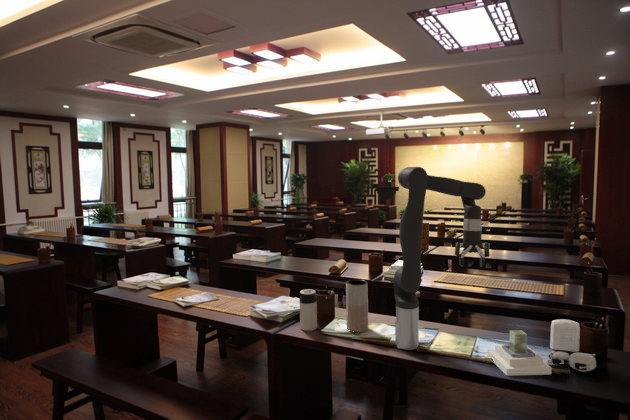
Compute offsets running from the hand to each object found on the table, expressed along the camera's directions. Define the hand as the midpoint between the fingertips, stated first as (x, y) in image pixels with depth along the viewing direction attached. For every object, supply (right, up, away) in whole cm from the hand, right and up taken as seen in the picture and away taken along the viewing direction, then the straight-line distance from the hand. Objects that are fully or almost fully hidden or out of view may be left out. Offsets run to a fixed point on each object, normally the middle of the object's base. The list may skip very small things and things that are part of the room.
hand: (471, 266), depth 181 cm
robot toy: (+27, -34, -27) cm, 51 cm away
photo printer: (+33, -32, -13) cm, 48 cm away
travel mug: (-72, -32, +17) cm, 80 cm away
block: (+8, -29, -26) cm, 39 cm away
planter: (-49, -32, +14) cm, 60 cm away
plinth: (+8, -34, -25) cm, 43 cm away
